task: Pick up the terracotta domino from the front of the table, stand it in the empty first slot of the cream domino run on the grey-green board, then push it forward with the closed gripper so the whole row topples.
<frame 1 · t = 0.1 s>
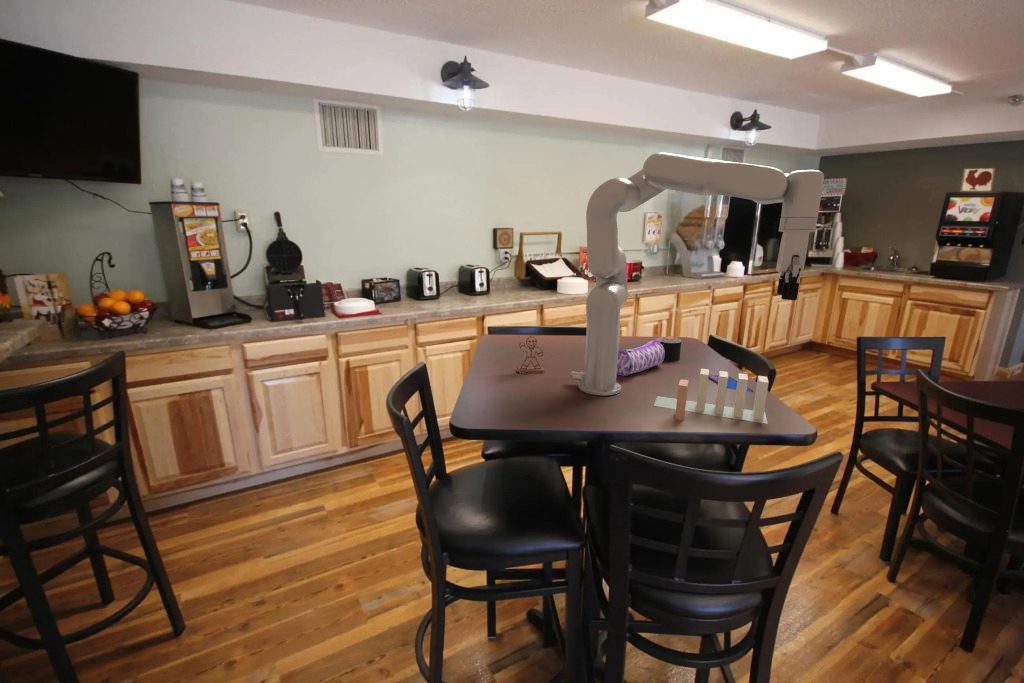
hand: (786, 297, 115), 31 cm above the table, tool pointing down, fingers open, 9 cm apart
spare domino: (679, 420, 118), on the table
gingerbread man figurine: (530, 372, 156), on the table
domino 4: (737, 413, 120), point 1 cm above the table, touching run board
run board: (708, 413, 123), on the table
domino 2: (700, 407, 123), point 1 cm above the table, touching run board
smartphone: (729, 386, 146), on the table
sushi: (667, 358, 174), on the table
domino 3: (718, 410, 121), point 1 cm above the table, touching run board
domino 5: (757, 416, 118), point 1 cm above the table, touching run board
pencil case: (636, 370, 159), on the table
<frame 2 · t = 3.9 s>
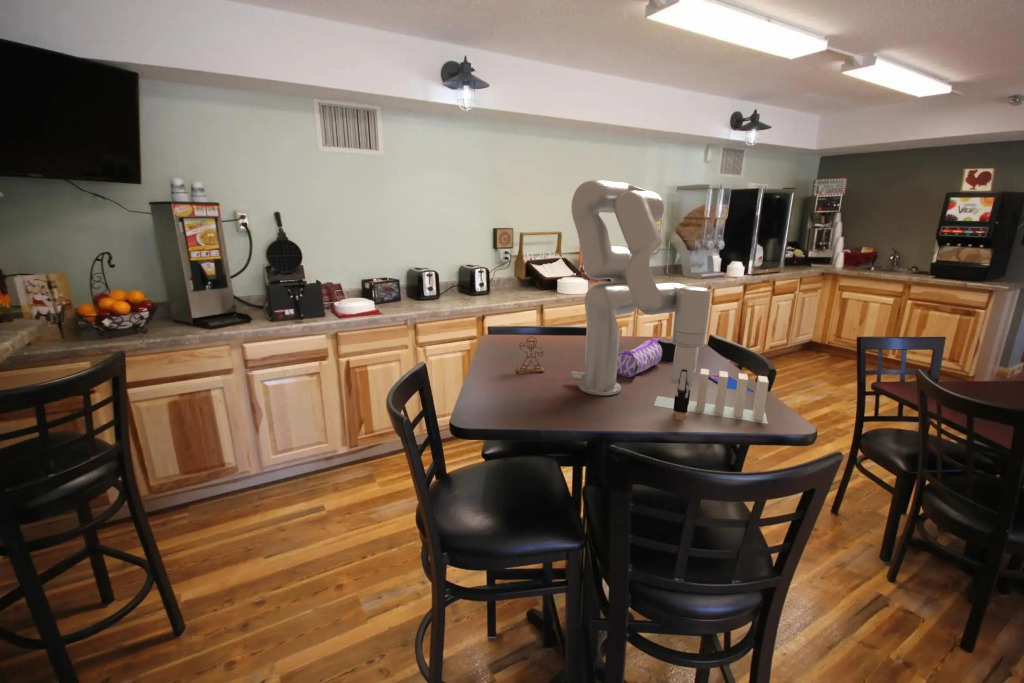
hand: (681, 407, 117), 3 cm above the table, tool pointing down, fingers closed on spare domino, 4 cm apart
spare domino: (679, 420, 118), on the table, touching gripper
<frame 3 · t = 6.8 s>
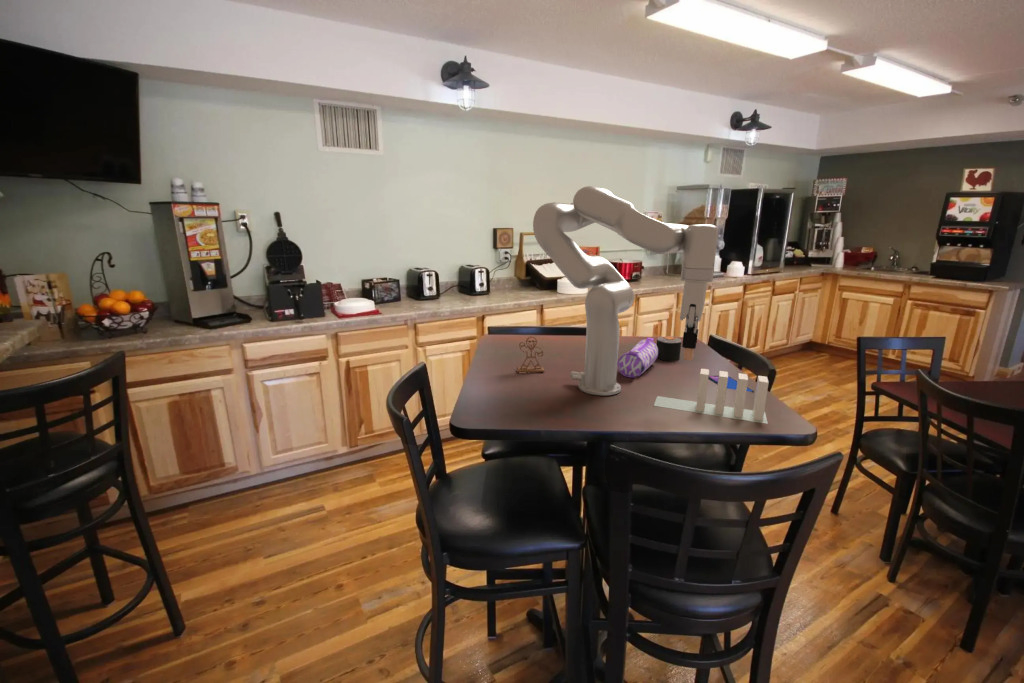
hand: (689, 344, 121), 18 cm above the table, tool pointing down, fingers closed on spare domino, 4 cm apart
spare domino: (688, 357, 122), point 14 cm above the table, touching gripper
when the fingers open (6 cm above the table, at t = 9.8 s): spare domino drops 1 cm, resting on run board.
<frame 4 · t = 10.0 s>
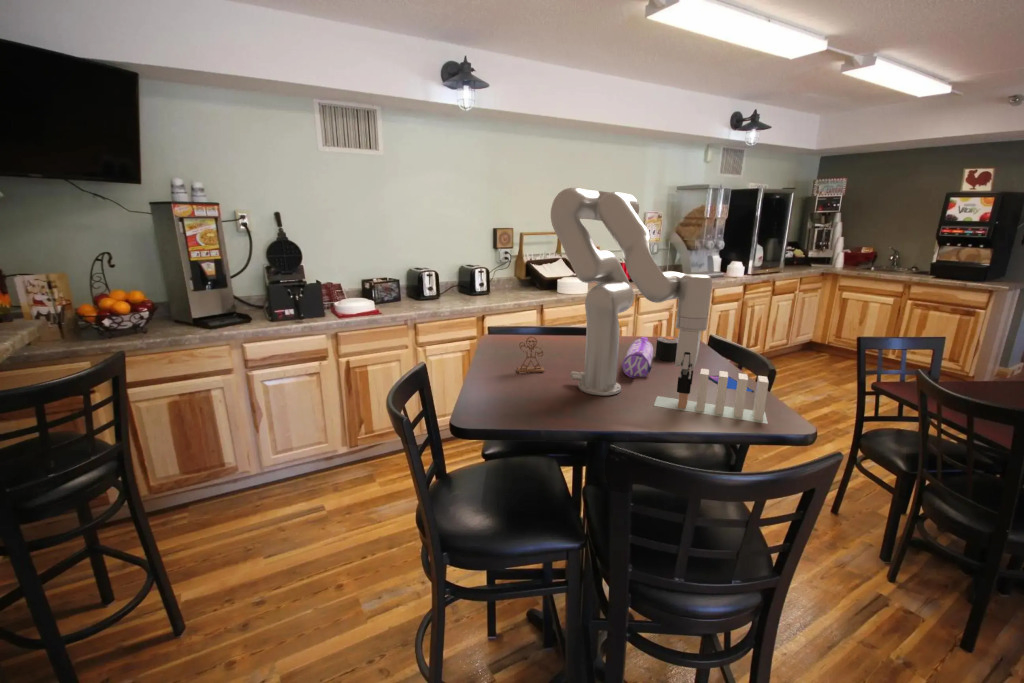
hand: (684, 387, 124), 6 cm above the table, tool pointing down, fingers open, 7 cm apart
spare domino: (682, 404, 125), point 1 cm above the table, touching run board
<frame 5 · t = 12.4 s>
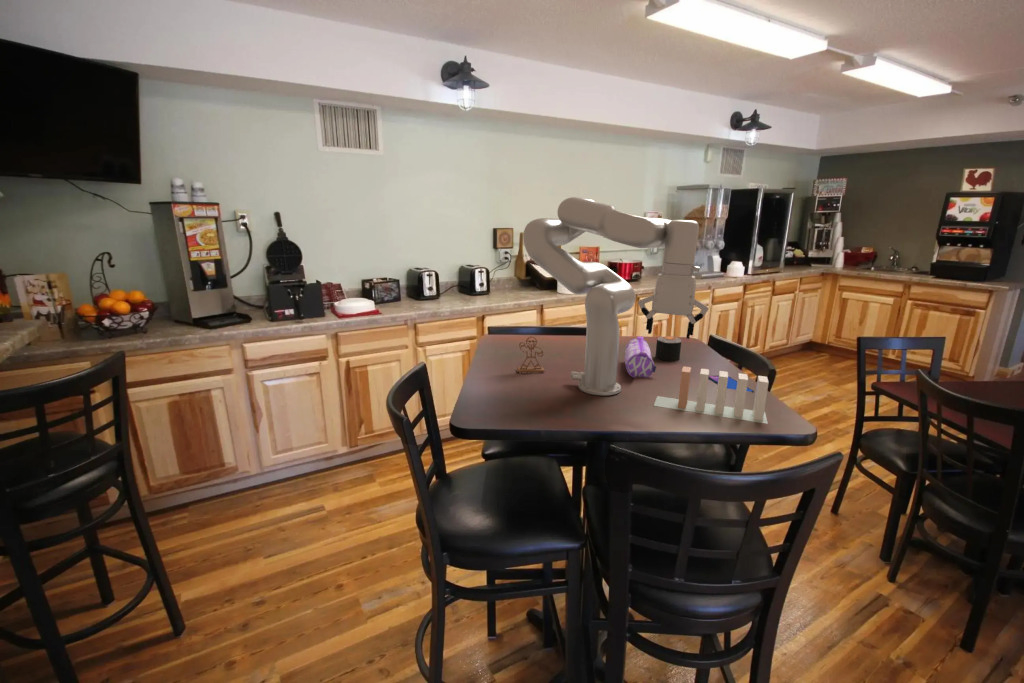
hand: (668, 335, 123), 20 cm above the table, tool pointing down, fingers open, 9 cm apart
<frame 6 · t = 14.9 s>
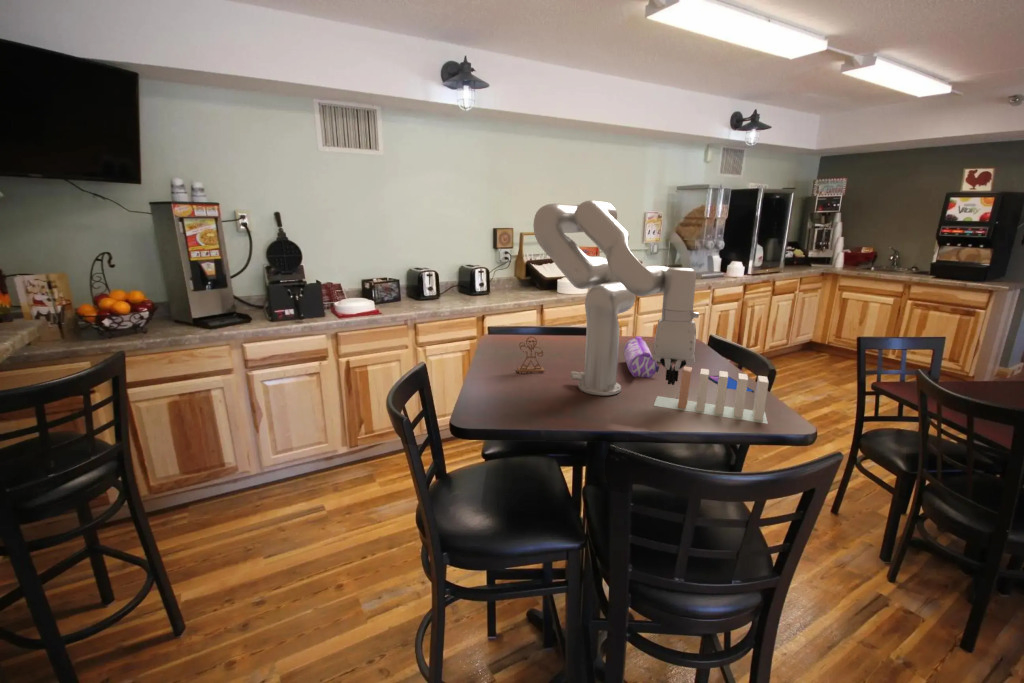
hand: (671, 383, 125), 7 cm above the table, tool pointing down, fingers closed
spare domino: (682, 404, 125), point 1 cm above the table, touching gripper, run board
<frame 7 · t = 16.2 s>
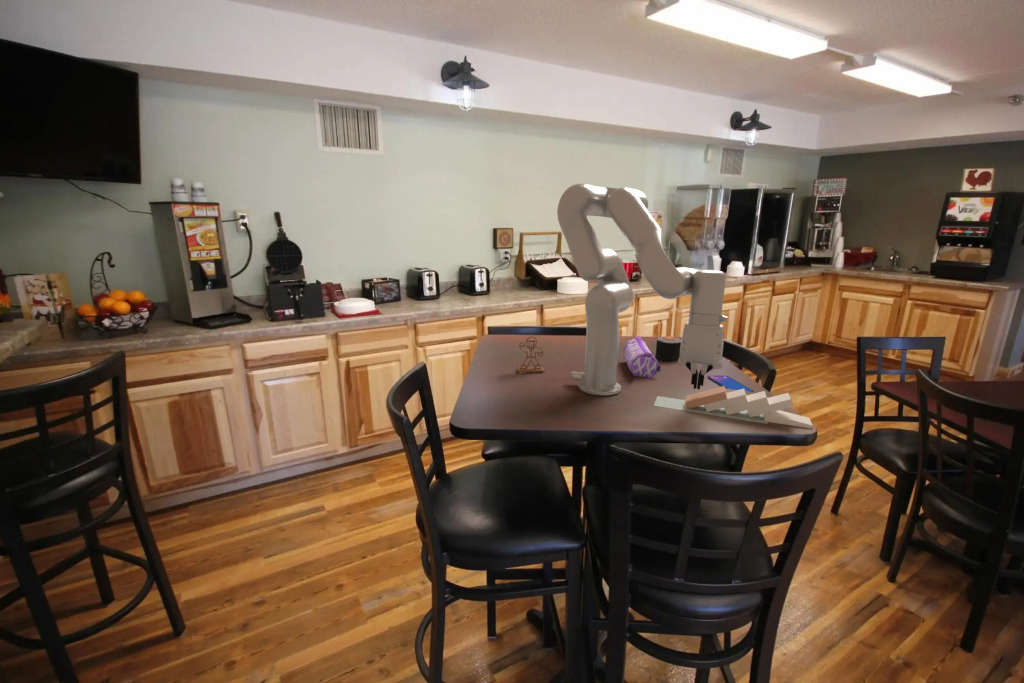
hand: (696, 387, 122), 7 cm above the table, tool pointing down, fingers closed
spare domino: (686, 402, 124), point 2 cm above the table, tilted 64°, touching domino 2, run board
domino 4: (747, 410, 119), point 2 cm above the table, tilted 64°, touching domino 3, domino 5
domino 2: (705, 405, 122), point 2 cm above the table, tilted 64°, touching domino 3, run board, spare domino
domino 3: (725, 408, 121), point 2 cm above the table, tilted 64°, touching domino 2, domino 4, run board
domino 5: (764, 413, 117), point 2 cm above the table, tilted 97°, touching domino 4, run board
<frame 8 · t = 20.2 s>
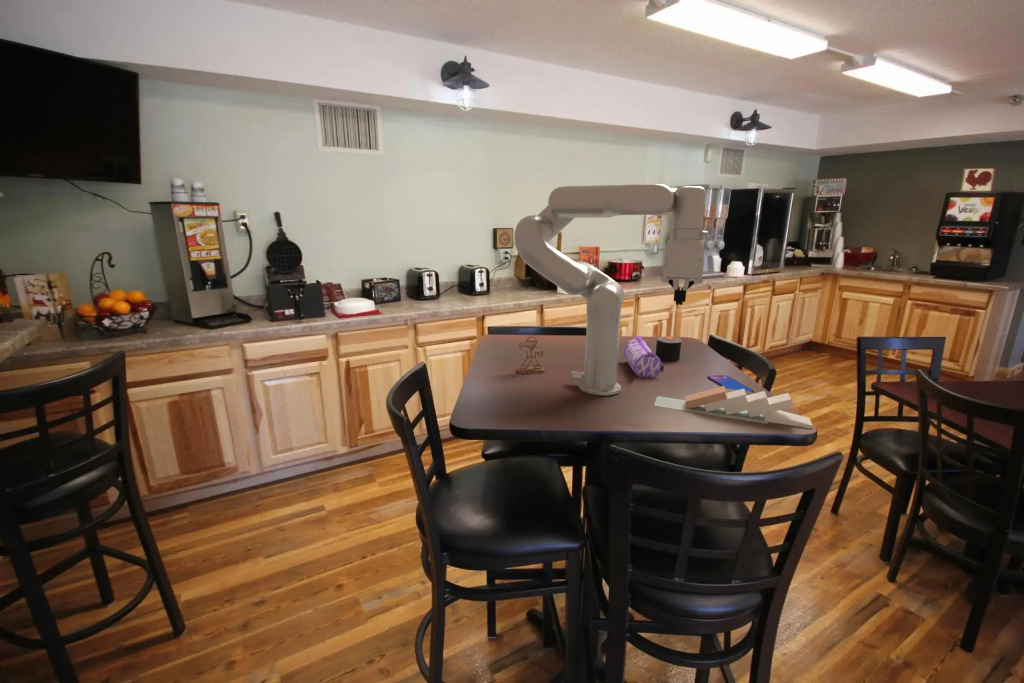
hand: (679, 304, 127), 27 cm above the table, tool pointing down, fingers closed
at the end: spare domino inside the target area (0.0 cm from its centre), point 2.1 cm above the table; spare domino tilted 64°; domino 5 tilted 97° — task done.
